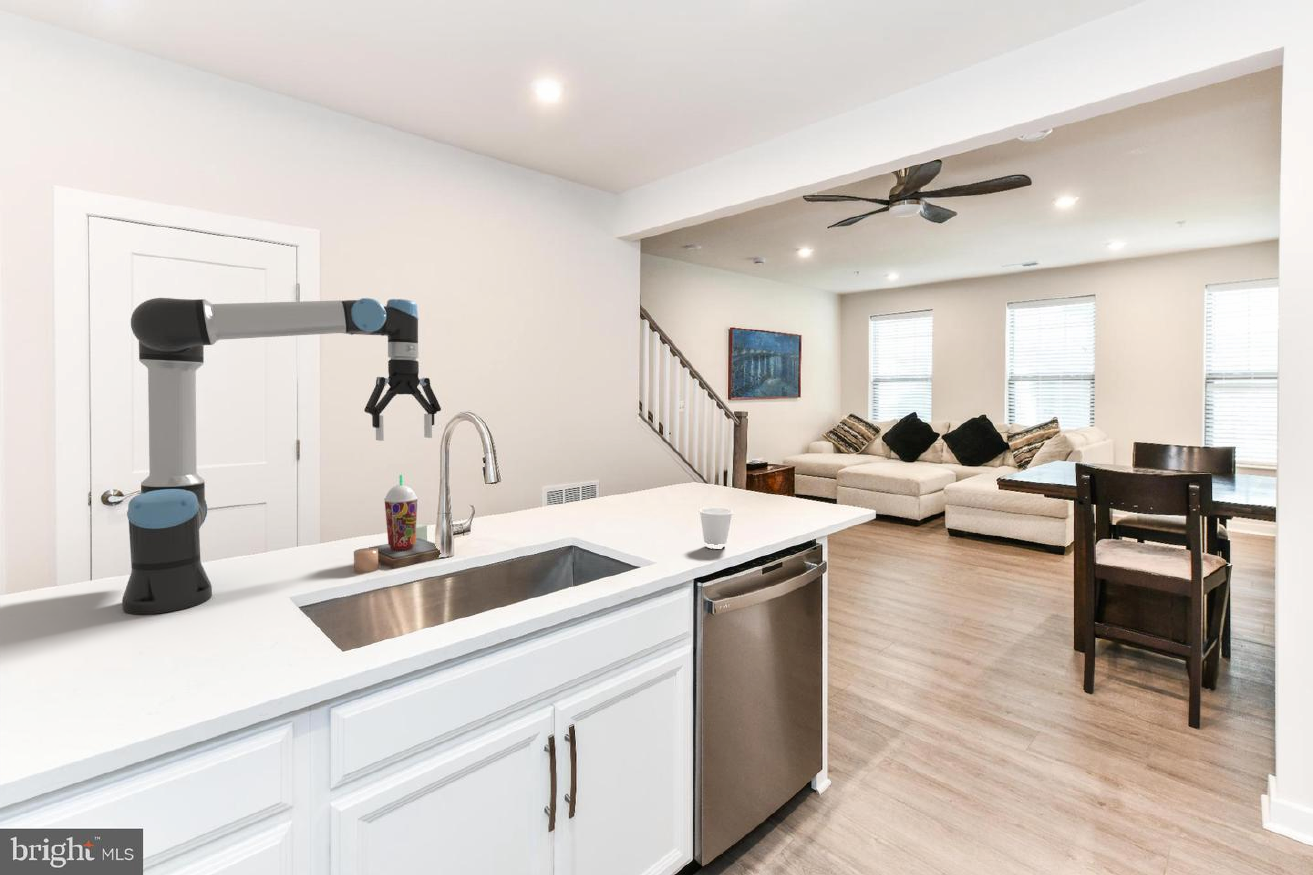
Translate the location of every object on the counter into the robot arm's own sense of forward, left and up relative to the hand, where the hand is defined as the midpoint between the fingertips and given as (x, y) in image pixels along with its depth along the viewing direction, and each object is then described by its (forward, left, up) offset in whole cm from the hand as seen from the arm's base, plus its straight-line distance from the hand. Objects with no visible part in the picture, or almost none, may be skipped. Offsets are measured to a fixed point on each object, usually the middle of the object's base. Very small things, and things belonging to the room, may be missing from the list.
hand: (404, 439), depth 169 cm
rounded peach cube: (-13, -4, -32) cm, 35 cm away
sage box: (+9, +13, -32) cm, 36 cm away
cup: (+67, -55, -32) cm, 93 cm away
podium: (0, 0, -32) cm, 32 cm away
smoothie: (-1, 0, -30) cm, 30 cm away
